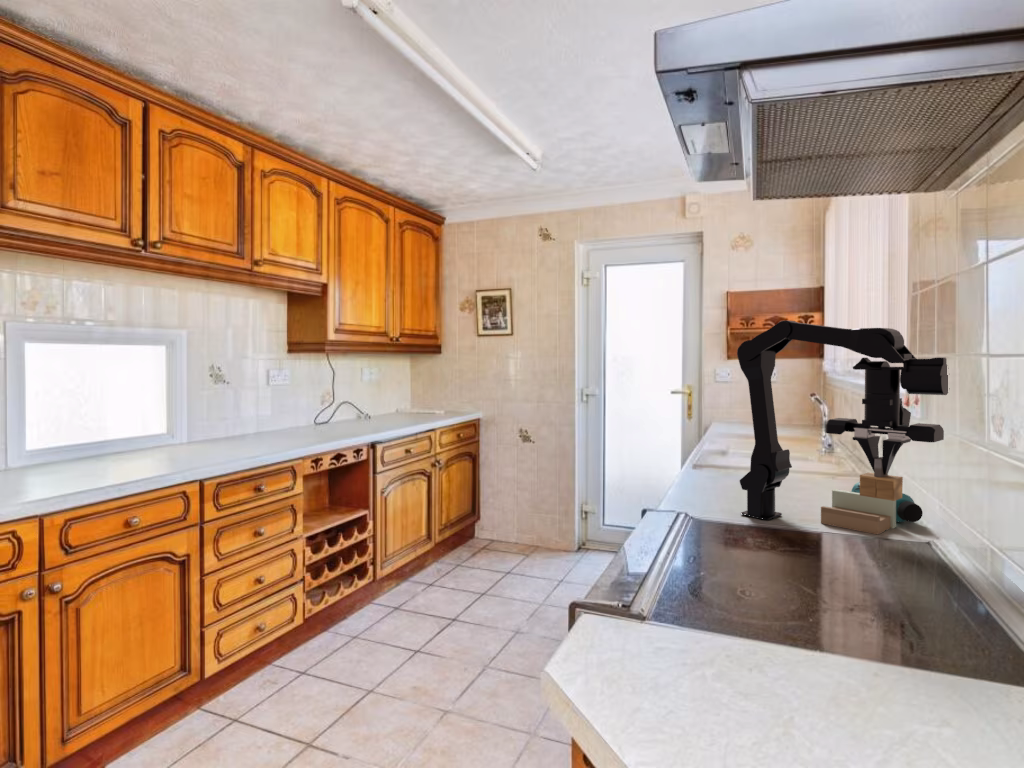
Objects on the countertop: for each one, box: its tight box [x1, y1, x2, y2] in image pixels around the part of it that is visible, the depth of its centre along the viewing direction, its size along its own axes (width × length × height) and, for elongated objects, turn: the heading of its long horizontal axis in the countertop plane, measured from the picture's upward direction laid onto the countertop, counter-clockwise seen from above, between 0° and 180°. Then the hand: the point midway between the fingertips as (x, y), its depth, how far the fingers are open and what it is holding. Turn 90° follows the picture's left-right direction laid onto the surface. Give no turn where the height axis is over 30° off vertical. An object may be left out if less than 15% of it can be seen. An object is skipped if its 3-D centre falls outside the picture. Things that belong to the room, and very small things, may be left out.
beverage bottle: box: [850, 481, 923, 523], centre depth 130 cm, size 6×7×20 cm
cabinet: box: [859, 456, 904, 501], centre depth 113 cm, size 4×6×8 cm
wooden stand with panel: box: [820, 489, 897, 535], centre depth 123 cm, size 8×12×6 cm, turn 38°
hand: (881, 473), depth 113 cm, fingers closed on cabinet
